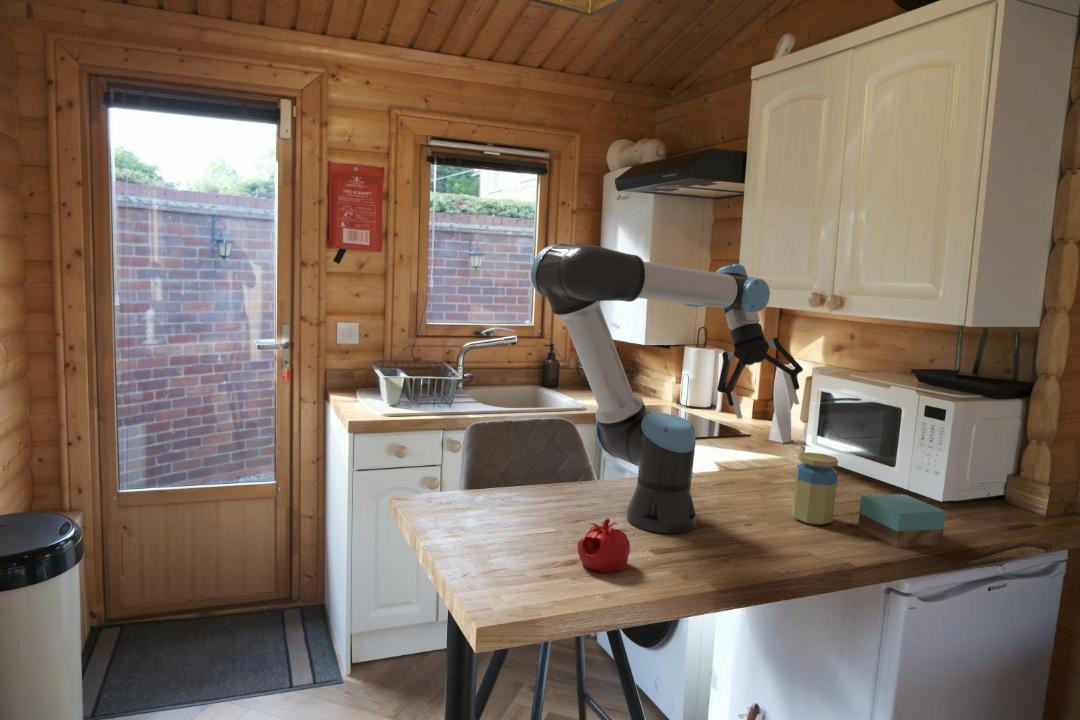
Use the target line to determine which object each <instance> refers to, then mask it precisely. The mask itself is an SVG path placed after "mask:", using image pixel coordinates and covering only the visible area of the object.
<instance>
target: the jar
mask: <svg viewBox="0 0 1080 720" xmlns="http://www.w3.org/2000/svg"><path fill="white" fill-rule="evenodd" d="M798 459H799V461H800V463H799V464H797V465H796V471H795V480H794V490H793V499H792V508H791V509H792V510H791V514H792V516H793V518H794V519H795V520H797V521H798V522H802V523H804V524H807V525H813V526H823V525H828V524H829V523H833V520H834V510H835V502H836V493H837V487H838V485H837V484H838V477H839V476H838V475H839V474H838V472H837V470H836V469H835V467H838V466H839V459H837V457H835V456H832V455H828V454H824V453H818V452H817V453H816V452H809V451H808V452H803V453H799V454H798ZM833 467H834V468H833Z"/></svg>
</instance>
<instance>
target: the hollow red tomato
mask: <svg viewBox="0 0 1080 720" xmlns="http://www.w3.org/2000/svg"><path fill="white" fill-rule="evenodd" d="M610 522H611V519H610V518H608V517H606V518H605V519H604V520H603V521H601V522H600V523H601V525H598V524H597V523H593V522H592V523H586V524H587V525H593V526H591V527H590V528H589V530H588V531H587V533H586V534H585V536H584V537H583V538H581V539H579V541H578V542H577V554H578V556H579V557H578V558H579V560H580V561H581V563H582V564H584V566H585V567H586V568H587V569H590V570H592V571H595V572H599V573H604V574H605V573H609V574H610V573H613V572H614V573H615V572H620V571H621V570H623V569H624V568H626V566H627V564H628V562H629V561H628V560H629V558H630V557H629V556H630V552H631V546H630V540H629V538H628V536H627V534H626V533H624V532H628V530H626V529H622V528H613V526H614V525H620V524H617V523H616V522H612V523H610Z"/></svg>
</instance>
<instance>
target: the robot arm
mask: <svg viewBox="0 0 1080 720" xmlns="http://www.w3.org/2000/svg"><path fill="white" fill-rule="evenodd" d="M530 278H531V279H530V280H531V283H532V286H533V288H534V290H535V291H536V292H537V293H539V294H540V295H541V296H542V297H545V298H547V300H548V301H547V302H548V303H549V305H550V308H551V311H552V314H553V315H554V316H557V317H559V318H562V319H563V322H564V324H565V327H566V329H567V332H568V335H569V338H570V339H571V341H572V344H573V347H574V349H575V352H576V354H577V357H578V359H579V363H580V364H581V367H582V369H583V372H584V374H585V378H586V379H587V382H588V384H589V387H590V389H591V392H592V394H593V397H594V400H595V402H596V404H597V406H598V408H597V410H596V412H595V419H596V420H595V423H596V424H595V425H594V437H595V440H596V442H597V444H598V446H599V447H600V448H601V449H602V450H603V451H604V452H605V453H607V454H609V455H610V456H612V457H613V458H616V459H619V460H622V461H625V462H627V463H629V464H632V465H634V466H636V467H637V468H638V473H637V484H636V487H635V489H634V492H633V494H632V497H631V499H630V501H629V504H628V506H627V510H626V520H627V522H628V523H630V525H633V526H634V527H636V528H639V529H640V530H641V529H642V530H645V531H649V532H653V533H661V534H682V533H683V534H684V533H687V532H692V531H693V530H694V529H695V528H696V524H697V513H696V510H695V505H694V501H693V497H692V493H691V491H692V489H691V487H692V479H693V478H692V477H693V469H694V459H695V449H696V444H697V443H696V430H695V429H696V428H695V425H693V423H692V422H690V421H689V420H688V419H686V418H684V417H682V416H679V415H675V414H674V415H673V414H670V413H665V412H651V413H650V412H649V413H648V411H647V408H646V406H645V402H644V400H643V399H642V397H641V396H639V395H637V394H634V392H633V390H632V387H631V384H630V382H629V380H628V377H627V374H626V372H625V368H624V366H623V363H622V360H621V358H620V355H619V353H618V350H617V347H616V344H615V342H614V339H613V337H612V334H611V332H610V329H609V326H608V324H607V321H606V318H605V315H604V313H603V310H602V307H601V305H600V303H601V302H605V301H608V302H609V301H610V302H611V301H612V302H613V301H616V302H621V301H622V302H629V303H630V302H631V303H632V302H634V301H636V300H637V299H644V300H645V299H646V300H652V301H661V302H670V303H679V304H683V305H685V306H687V307H695V308H699V307H706V308H707V307H708V308H716V309H723V310H724V314H725V318H726V321H727V326H728V329H729V330H730V337H731V341H732V344H733V351H729V352H726V351H723V352H722V366H721V370H720V376H719V381H718V385H717V388H716V390H717V392H719V393H722V394H723V393H724V394H725V395H726V397H727V401H728V404H729V406H730V407H734V410H735V415H736V418H737V419H738V420H741V419H743V415H742V411H741V406H740V402H739V399H738V396H737V392H736V391H734V389H735V386H736V385H737V383H738V380H739V379H740V376H741V374H742V373H743V370H744V369H745V368H746V366H752V365H754V364H760V363H763V361H764V360H766V361H767V362H769V363H771V364H773V365H774V366H775V367H776V368H777V367H779V368H780V369H782V370H783V371H785V372H786V373H788V374H789V375H790V377H787V379H788V382H789V386H790V390H791V393H792V397H793V400H794V403H793V405H796V406H797V405H800V402H799V397H798V394H797V390H800V384H799V379H797V374H798V375H799V374H800V373H802V372H803V371H804V368H803V367H802V366H801V364H800V363H799V362H798V361H796V359H795V358H794V357H793V356H792V355H791V354H790V353H789V352H788V351H787V350H786V349H785V348H784V347H783V345H782V343H781V340H780V339H779V338H778V337H774V338H773V339H771V340H769V341H767V340H766V337H765V334H764V330H763V326H762V324H760V321H761V319H760V315H759V313H758V312H760V311H763V310H764V309H765V308H766V307H767V305H768V303H769V301H770V296H771V291H770V287H769V284H768V283H767V282H766V281H765V280H764V279H762V278H757V277H753V276H750V277H749V276H748V273H747V271H746V268H745V266H744V265H742V264H739V263H734V264H729V265H726V266H723V267H720V268H718V269H717V270H716V271H715V272H713V271H709V270H708V271H707V270H702V269H700V270H699V269H694V268H688V267H683V266H682V267H681V266H675V265H667V264H662V263H655V262H650V261H649V262H648V261H644V260H643V259H642V258H641V256H639V255H636V254H631V253H626V252H621V251H617V250H614V249H611V248H607V247H603V246H599V245H594V244H568V243H557V244H551V245H549V246H546V247H545V248H542V250H540V251H539V253H537V255H536V256H535V258H534V259H533V262H532V265H531V270H530ZM770 347H771V348H773V349H776V350H777V351H778V352H779V353H780V354H781V355H782V356H783V357H784V358H785V359H786V360H787V361H788V362H789V364H790V365H792V367H793V366H794V368H795V369H793V370H791V369H790V368H788V367H787V366H785V365H786V364H784V363H782V362H780V361H779V360H777V359H776V358H775V357H773V356H771V355H770V354H768V351H769V349H770ZM734 357H735V358H737V359H738V361H737V363H736V366H735V369H734V370H733V373H732V374H731V377H730V378H729V381H728V376H729V371H730V366H731V362H732V361H733V359H734ZM797 362H798V363H799V364H798V363H797ZM727 381H728V383H727ZM726 384H727V385H726Z"/></svg>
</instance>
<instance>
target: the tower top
mask: <svg viewBox="0 0 1080 720" xmlns="http://www.w3.org/2000/svg"><path fill="white" fill-rule="evenodd" d="M859 504H860V505H859V510H858V511H859V513H858V514H860V513H861V514H863V515H865V516H867V517H869V518H871V519H873V520H875V521H877V522H879V523H881V524H883V525H886V526H888V527H890V528H892V529H894V530H896V531H917V530H937V529H944V527H945V518H946V510H943V509H941V508H939V507H937V506H933V505H931V504H929V503H927V502H925V501H922V500H920V499H916V498H915V497H912V496H910V495H908V494H905V493H903V494H897V493H896V494H874V495H873V494H871V495H869V494H868V495H861V496H860V503H859Z"/></svg>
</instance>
